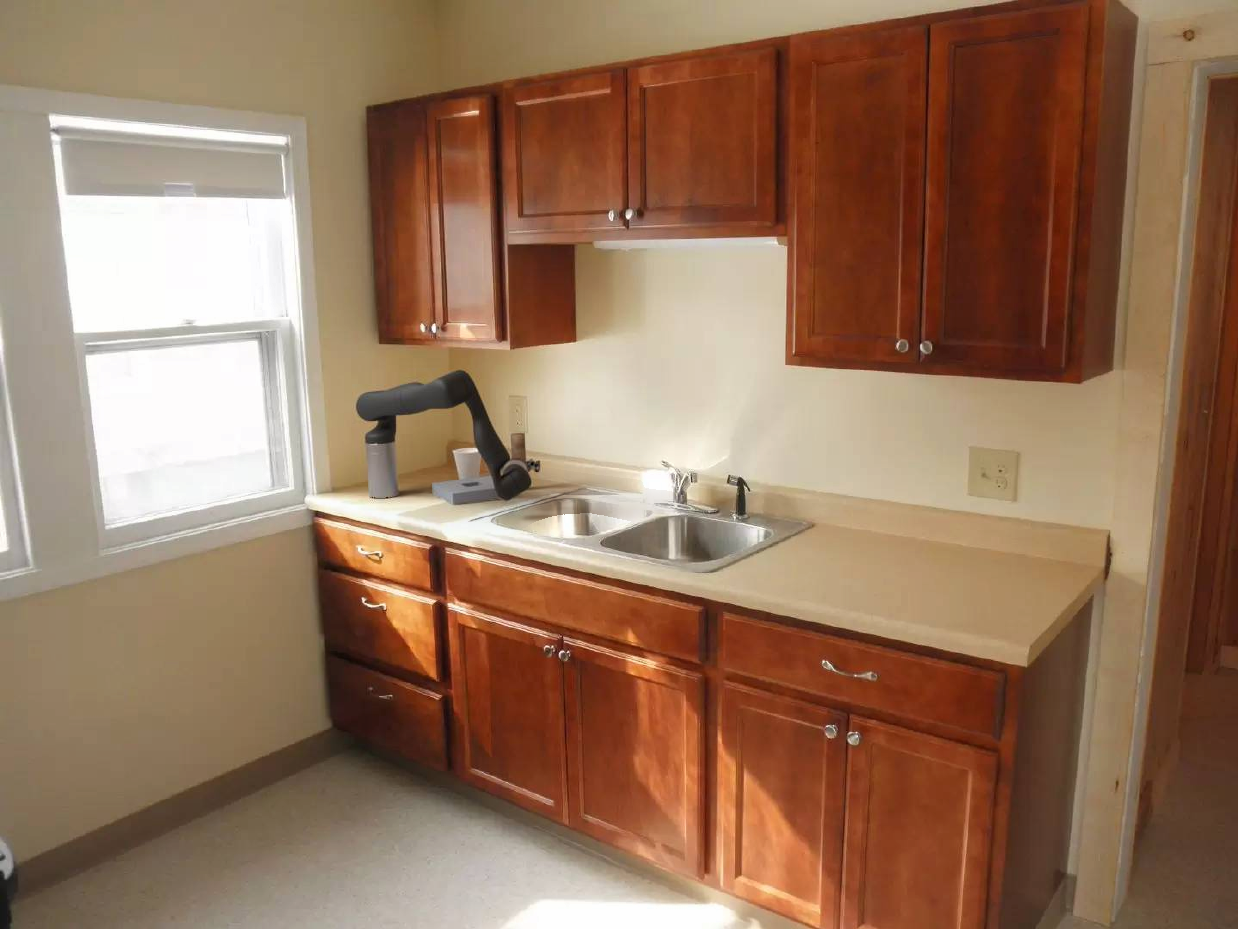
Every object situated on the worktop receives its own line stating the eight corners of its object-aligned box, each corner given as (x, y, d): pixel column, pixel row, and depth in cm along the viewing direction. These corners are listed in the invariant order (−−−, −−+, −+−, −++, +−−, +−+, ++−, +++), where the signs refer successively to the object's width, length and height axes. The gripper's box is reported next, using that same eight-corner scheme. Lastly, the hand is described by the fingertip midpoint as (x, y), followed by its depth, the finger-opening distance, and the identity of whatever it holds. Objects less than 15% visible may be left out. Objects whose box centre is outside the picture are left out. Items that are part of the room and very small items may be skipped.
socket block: (432, 493, 327) (431, 482, 327) (491, 486, 337) (490, 475, 336) (453, 504, 310) (452, 493, 309) (514, 496, 319) (514, 485, 319)
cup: (474, 478, 350) (472, 446, 348) (489, 482, 343) (488, 450, 341) (448, 482, 344) (446, 450, 342) (464, 487, 337) (462, 453, 335)
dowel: (511, 488, 332) (508, 433, 328) (523, 487, 334) (521, 432, 330) (516, 491, 328) (513, 435, 324) (529, 489, 330) (526, 434, 326)
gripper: (538, 459, 306) (540, 450, 322) (490, 460, 305) (494, 451, 321) (539, 484, 307) (541, 473, 323) (491, 485, 306) (495, 475, 322)
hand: (517, 462), depth 322 cm, fingers open, 8 cm apart
